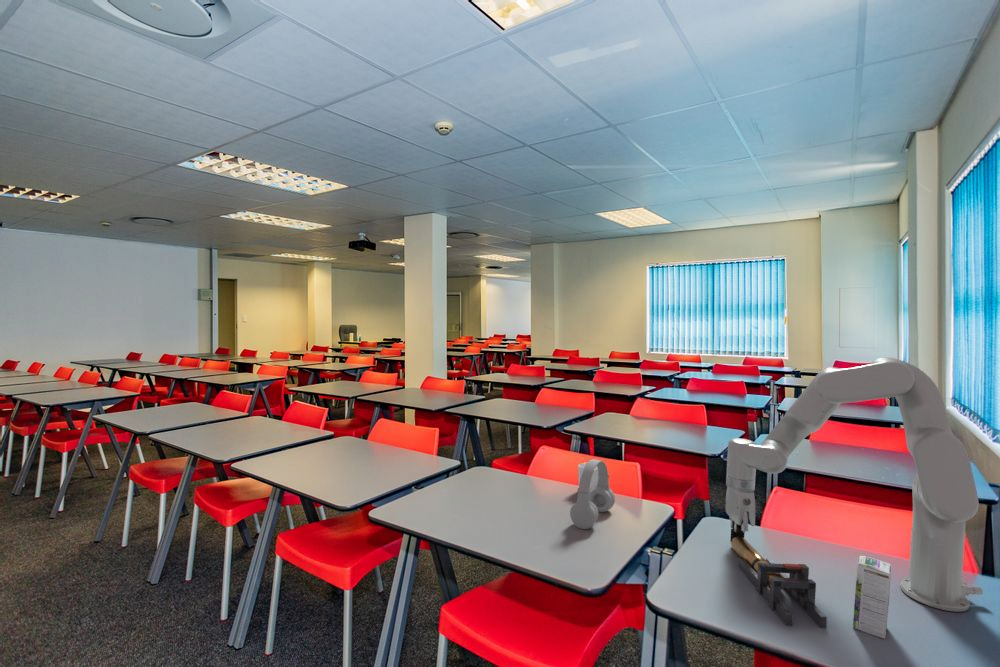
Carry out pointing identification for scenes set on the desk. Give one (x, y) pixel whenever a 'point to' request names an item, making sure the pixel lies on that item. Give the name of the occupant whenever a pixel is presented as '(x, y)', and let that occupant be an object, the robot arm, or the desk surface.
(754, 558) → the tan cylindrical rod
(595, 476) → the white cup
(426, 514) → the desk surface
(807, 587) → the collar rig
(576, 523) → the headphones
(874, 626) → the syrup box
